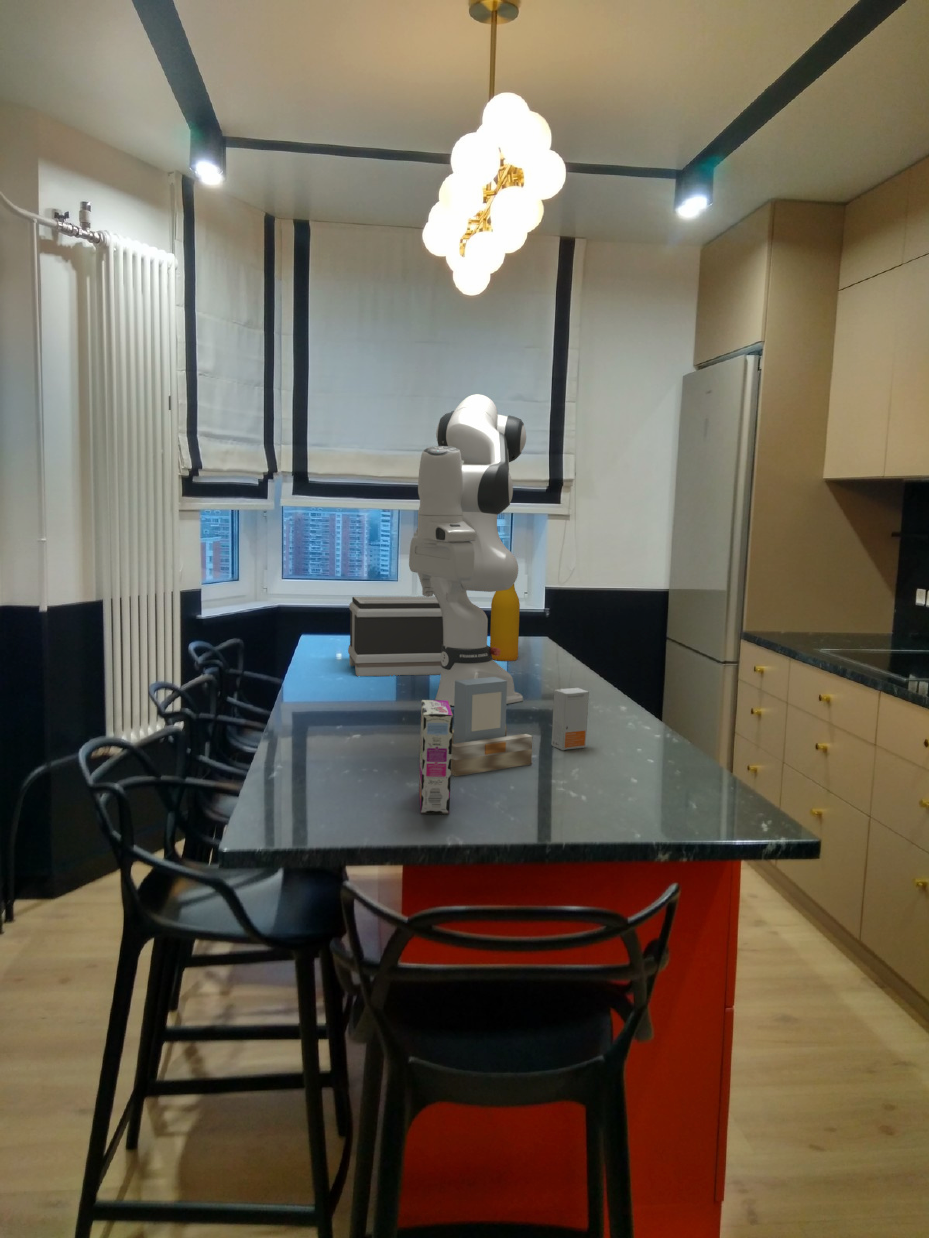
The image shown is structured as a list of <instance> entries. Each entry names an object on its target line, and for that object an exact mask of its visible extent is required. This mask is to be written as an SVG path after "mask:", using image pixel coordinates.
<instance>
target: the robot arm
mask: <svg viewBox="0 0 929 1238" xmlns="http://www.w3.org/2000/svg"><path fill="white" fill-rule="evenodd" d="M526 431H527V430H526V427H525V424H524V422H523V420H522V419H521V418H518V417H516V416H513V415H503V414H498V408H497V406H496V404H495V402H494V401H493V400H492V399H491V398H489V397H488V396H486V395H484V394H476V393H474V394H472V395H469V396H466V398H464V399H463V400H462V401H461V402H460V403H459V404H458V405H457V406H456V408H455V409H454V410H452V411H450V412H447V413H444V415H442V417H440V419H439V422H438V424H437V427H436V433H435V434H436V442H437V446H429V447H426V448H425V449H423V450H422V452H421V456H420V461H419V469H418V480H417V481H418V482H417V484H418V485H417V494H418V498H419V508H418V510H417V511H418V512H417V528H416V530H415V532H414V534H413V537H412V538H411V540H410V546H409V553H408V554H409V556H408V558H409V559H408V566H409V570H410V572H412V573H417V575H418V579H419V582H420V584H421V589H422V591H421V594H422V597H436V599H437V601H438V603H439V605H440V608H441V612H442V618H443V644H442V646H441V667H442V670H441V675H440V677H439V678H440V679H439V684H438V689H437V692H436V695H435V699H434V700H446V701H449V704H450V706H452V707H454V697H455V680H466V679H477V678H487V677H497V678H500V679H503V680H505V681H507V699H506V705H507V704H512V703H513V704H514V703H519V702H523V701H524V697H523V695H522V694H521V693H520V692H517V691H515V684H514V678H513V677H512V675H511V674H510V673H509V672H508V671H507V670H506V669H505V668H503V667H502V666H500V665H499V664H498V663H497V662H496V660H492V659H493V658H492V655H495V656H499V654H501V653H500V651H501V650H498V649H499V648H495V647H493V648H491V647H490V645H488V623H489V621H488V620H489V618H488V615H487V614H486V613H485V611H484V610H483V609H482V608H480V607H479V606H477V604H474V603H472V602H471V600H470V598H469V597H468V593H467V591H472V592H485V593H487V592H488V593H491V592H492V593H495V592H496V591H501V590H507V589H509V588H510V587H511V586H512V585H513V584H514V585H515V582H516V581H517V578H518V576H519V563H518V561H517V558H516V556H515V554H513V552H511V551H510V549H508V548H507V547H506V546H505V544H504V543H503V542H502V540H501V538H500V535H499V530H498V515H499V514H501V513H502V512H504V511H506V510H507V508H509V507H510V505H511V502H512V499H513V494H514V487H513V486H514V485H513V479H512V476H511V474H510V471H509V470H510V463H512V462H513V461H515V460H517V459H518V458H519V456H520V455H522V451H523V450H524V448H525V445H526V443H527V432H526ZM462 461H463V463H462Z"/></svg>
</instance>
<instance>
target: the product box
mask: <svg viewBox="0 0 929 1238" xmlns="http://www.w3.org/2000/svg"><path fill="white" fill-rule="evenodd" d="M506 699H507V681H505V680H503V679H500V678H497V677H487V678H477V679H466V680H455V697H454V706H453V729H454V738H453V744H456V743H464V742H471V741H478V740H486V739H493V738H500V737H505V729H506V724H507V723H506V722H507V704H506Z"/></svg>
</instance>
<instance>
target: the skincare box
mask: <svg viewBox="0 0 929 1238" xmlns="http://www.w3.org/2000/svg"><path fill="white" fill-rule="evenodd" d="M553 694H554V695H553V710H552V713H553V714H552V731H551V746H552V747H555V748H556V749H559V750H561V751H565V750H576V749H585V748H586V746H587V732H588V731H587V730H588V729H587V727H588V713H589V712H588V711H589V696H590V691H588V690H585V689H582V688H580V687H574V688H571V687H570V688H568V687H567V688H561V689H554V693H553Z"/></svg>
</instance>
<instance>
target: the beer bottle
mask: <svg viewBox="0 0 929 1238" xmlns="http://www.w3.org/2000/svg"><path fill="white" fill-rule="evenodd" d="M520 607H521V604H520V599H519V596H518V593H517V591H516V587H515V583H514V584H513V585H512V586H511V587H510V588H509V589H507V590H501V591H494V593H493V597H492V599H491V604H490V632H489V633H490V635H489V639H490V640H489V641H490V642H489V647H491V648H493V647H495V648H499V649H498V650H501V651H500V653H501V654H499V656H495V655H492V658H493V659H492V660H493V661H495V662H496V661H497V662H515V661H517V660H518V657H519V639H520V638H519V634H520V631H519V630H520Z"/></svg>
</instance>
